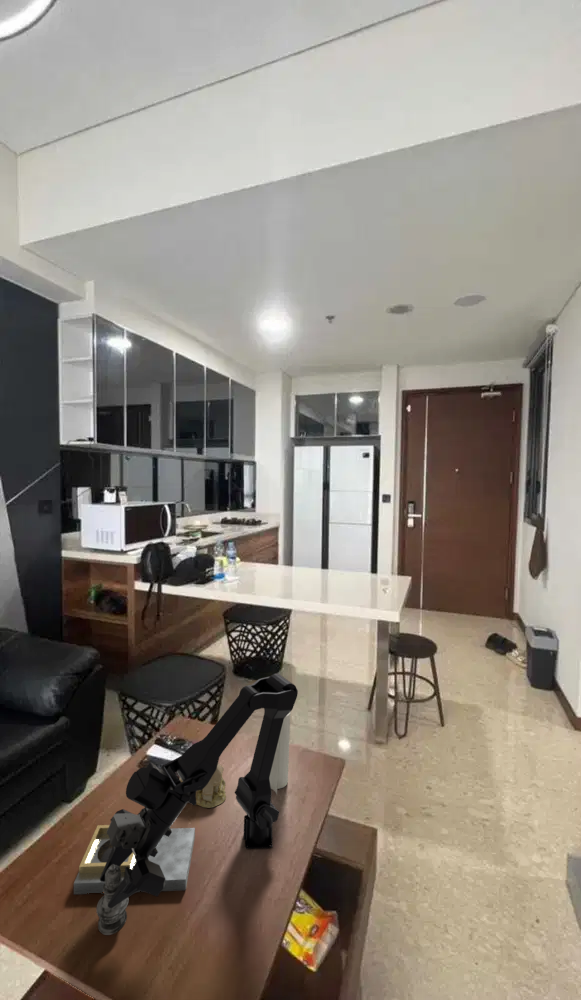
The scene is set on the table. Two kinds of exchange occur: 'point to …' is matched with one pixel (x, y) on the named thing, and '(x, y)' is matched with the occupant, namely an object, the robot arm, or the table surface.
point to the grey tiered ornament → (108, 917)
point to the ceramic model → (212, 790)
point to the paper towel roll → (281, 758)
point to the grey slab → (170, 858)
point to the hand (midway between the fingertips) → (105, 893)
